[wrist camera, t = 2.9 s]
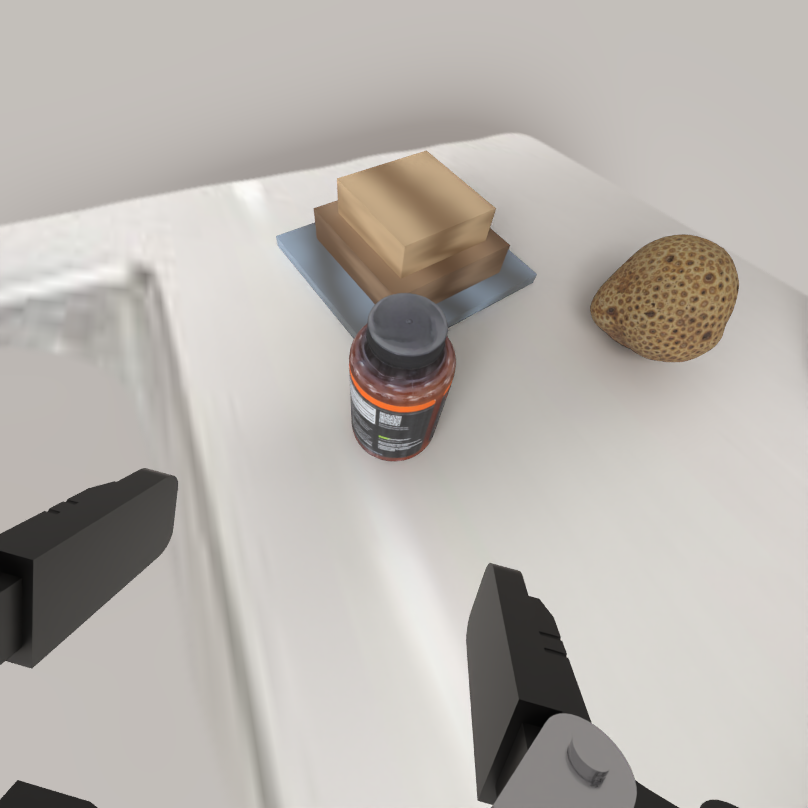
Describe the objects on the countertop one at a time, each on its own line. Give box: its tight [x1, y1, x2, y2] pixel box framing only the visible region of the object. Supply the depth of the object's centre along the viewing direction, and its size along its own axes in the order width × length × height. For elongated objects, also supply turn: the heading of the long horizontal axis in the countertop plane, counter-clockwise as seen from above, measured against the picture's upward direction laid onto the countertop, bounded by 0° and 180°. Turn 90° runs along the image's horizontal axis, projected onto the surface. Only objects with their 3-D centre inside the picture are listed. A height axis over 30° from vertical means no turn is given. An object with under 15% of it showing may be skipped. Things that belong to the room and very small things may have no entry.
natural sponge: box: [590, 235, 739, 362], centre depth 32 cm, size 9×9×10 cm
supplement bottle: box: [349, 293, 456, 461], centre depth 25 cm, size 6×6×11 cm
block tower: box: [276, 151, 537, 338], centre depth 35 cm, size 18×16×7 cm
